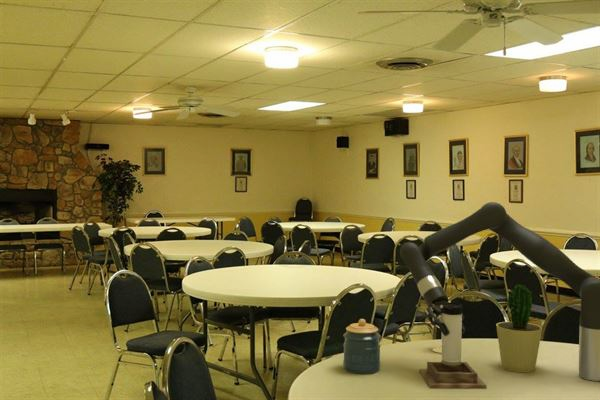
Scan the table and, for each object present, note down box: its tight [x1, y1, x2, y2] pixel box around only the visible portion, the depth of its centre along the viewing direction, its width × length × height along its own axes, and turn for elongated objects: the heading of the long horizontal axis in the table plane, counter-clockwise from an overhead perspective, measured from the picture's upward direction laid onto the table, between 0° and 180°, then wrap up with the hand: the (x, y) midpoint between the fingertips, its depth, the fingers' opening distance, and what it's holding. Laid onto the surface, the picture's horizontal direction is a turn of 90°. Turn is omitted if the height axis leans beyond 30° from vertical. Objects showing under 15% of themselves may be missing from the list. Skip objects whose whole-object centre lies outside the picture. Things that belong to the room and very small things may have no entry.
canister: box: [342, 318, 382, 375], centre depth 222 cm, size 13×13×18 cm
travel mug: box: [441, 301, 463, 366], centre depth 210 cm, size 6×7×20 cm
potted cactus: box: [495, 283, 543, 373], centre depth 225 cm, size 15×15×30 cm
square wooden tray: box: [418, 361, 488, 389], centre depth 210 cm, size 18×18×4 cm
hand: (455, 333), depth 209 cm, fingers closed on travel mug, 6 cm apart
